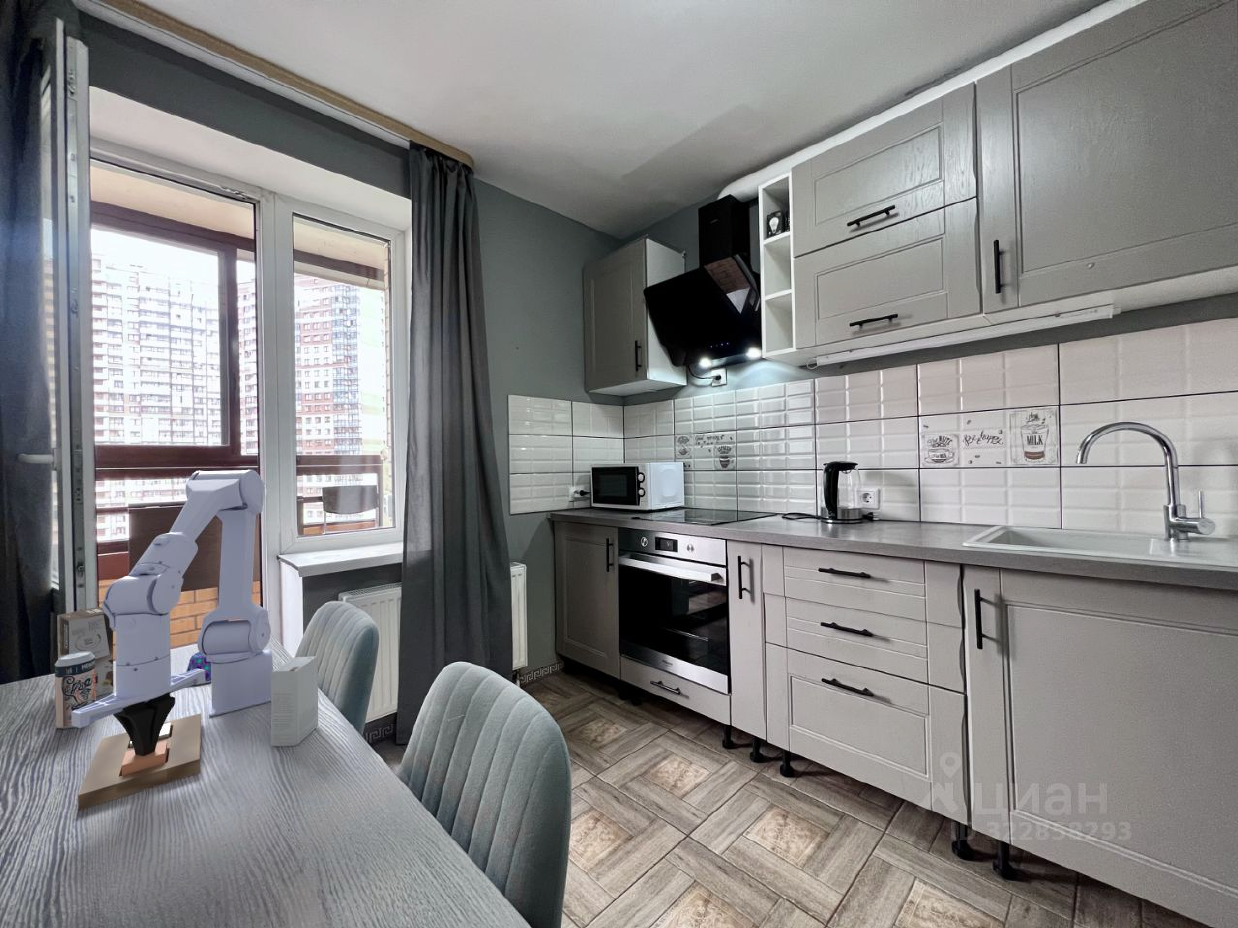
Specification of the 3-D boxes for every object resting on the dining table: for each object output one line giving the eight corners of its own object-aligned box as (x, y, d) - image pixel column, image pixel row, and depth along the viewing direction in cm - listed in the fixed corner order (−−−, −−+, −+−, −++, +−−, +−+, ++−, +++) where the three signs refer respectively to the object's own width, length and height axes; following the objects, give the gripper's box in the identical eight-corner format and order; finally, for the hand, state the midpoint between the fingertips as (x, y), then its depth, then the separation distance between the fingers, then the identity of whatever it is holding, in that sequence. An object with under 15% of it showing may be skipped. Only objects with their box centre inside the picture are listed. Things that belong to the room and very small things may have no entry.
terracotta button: (167, 757, 74) (167, 740, 74) (165, 770, 71) (164, 752, 71) (126, 768, 72) (125, 751, 72) (122, 783, 68) (121, 765, 68)
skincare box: (293, 727, 84) (292, 656, 84) (320, 726, 84) (319, 655, 84) (269, 748, 78) (267, 671, 78) (298, 746, 78) (297, 669, 78)
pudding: (195, 692, 99) (194, 666, 99) (158, 684, 103) (157, 659, 103) (256, 668, 111) (256, 645, 111) (221, 662, 115) (221, 640, 115)
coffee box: (115, 691, 100) (114, 611, 100) (68, 704, 94) (67, 620, 94) (102, 681, 105) (101, 605, 105) (57, 694, 99) (56, 613, 99)
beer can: (68, 731, 84) (67, 661, 84) (47, 729, 85) (47, 659, 85) (103, 717, 89) (102, 650, 89) (83, 715, 90) (82, 649, 90)
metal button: (170, 737, 81) (170, 722, 81) (169, 748, 78) (169, 732, 78) (133, 747, 78) (133, 731, 78) (130, 759, 75) (129, 743, 75)
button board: (201, 724, 85) (201, 713, 85) (199, 772, 72) (199, 758, 72) (101, 751, 78) (101, 738, 78) (78, 810, 64) (77, 795, 64)
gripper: (184, 638, 80) (185, 723, 79) (57, 674, 66) (59, 777, 66) (213, 643, 77) (214, 730, 77) (88, 681, 64) (89, 787, 63)
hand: (145, 752), depth 71 cm, fingers closed, pressing on terracotta button
